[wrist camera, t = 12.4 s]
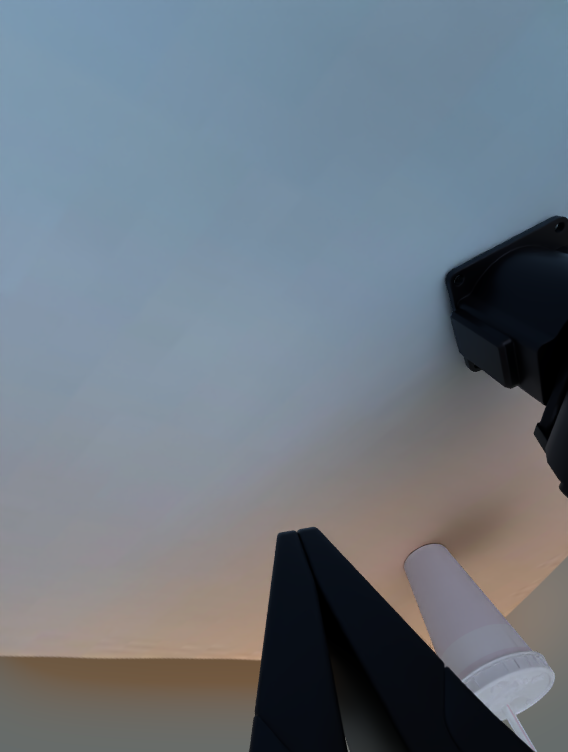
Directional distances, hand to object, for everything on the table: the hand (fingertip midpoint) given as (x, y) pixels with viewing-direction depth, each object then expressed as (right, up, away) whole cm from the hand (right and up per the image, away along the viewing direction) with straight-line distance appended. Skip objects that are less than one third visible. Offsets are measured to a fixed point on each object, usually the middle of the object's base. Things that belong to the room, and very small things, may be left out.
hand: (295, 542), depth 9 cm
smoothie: (+11, -11, +24) cm, 29 cm away
